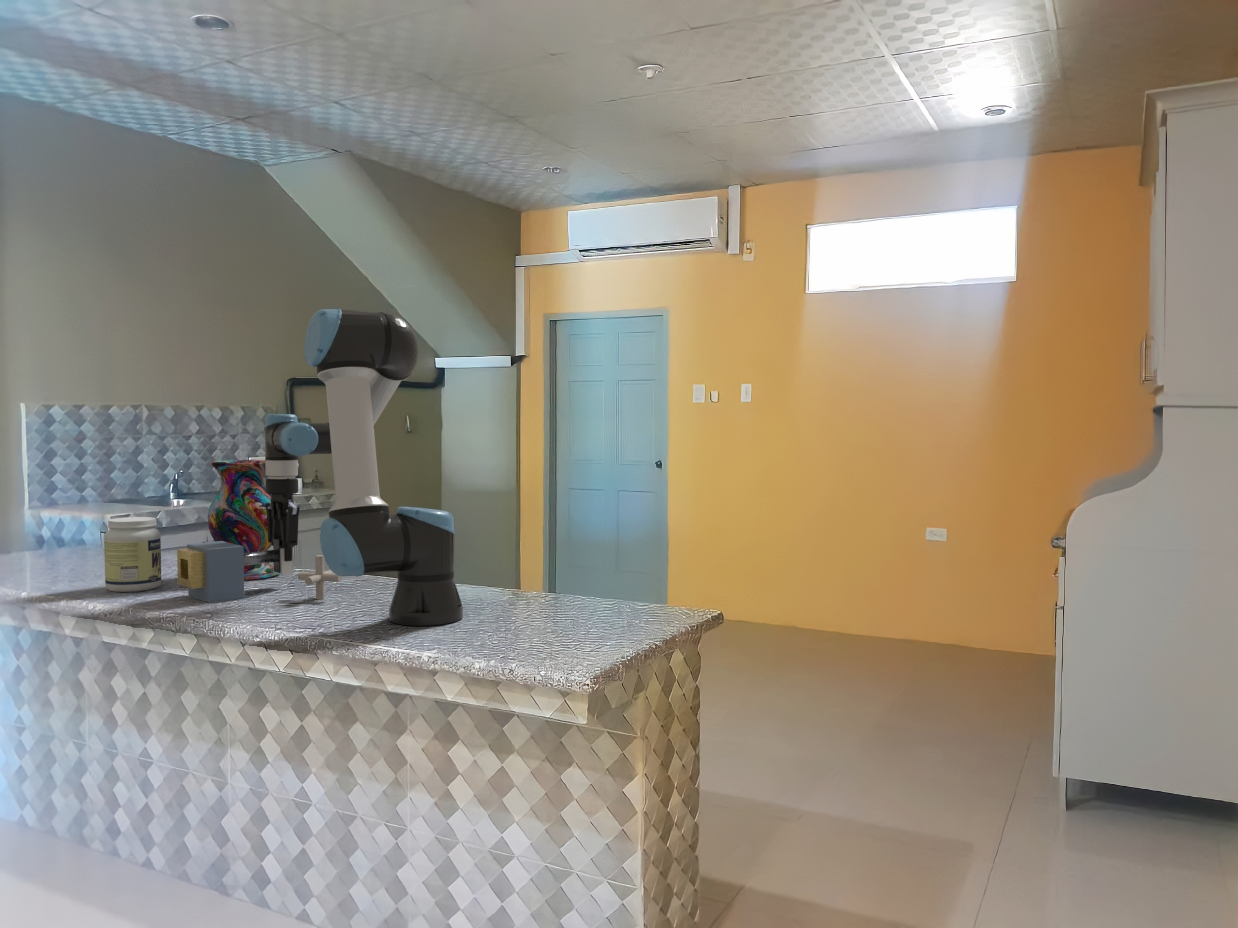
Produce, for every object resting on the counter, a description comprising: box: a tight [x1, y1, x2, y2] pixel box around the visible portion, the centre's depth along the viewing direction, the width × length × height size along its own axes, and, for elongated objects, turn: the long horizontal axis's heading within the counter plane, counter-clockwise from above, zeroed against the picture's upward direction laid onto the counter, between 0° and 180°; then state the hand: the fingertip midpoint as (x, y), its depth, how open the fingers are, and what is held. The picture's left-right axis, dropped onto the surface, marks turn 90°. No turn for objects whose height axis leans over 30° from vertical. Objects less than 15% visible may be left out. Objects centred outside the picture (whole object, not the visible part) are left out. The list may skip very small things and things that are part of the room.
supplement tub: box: [103, 516, 162, 593], centre depth 226 cm, size 12×12×17 cm
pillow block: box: [186, 541, 245, 604], centre depth 216 cm, size 12×8×12 cm, turn 46°
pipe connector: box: [297, 554, 343, 601], centre depth 215 cm, size 10×10×10 cm
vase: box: [207, 459, 281, 581], centre depth 243 cm, size 18×18×30 cm
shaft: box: [244, 538, 282, 574], centre depth 221 cm, size 3×23×8 cm, turn 136°
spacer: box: [176, 548, 205, 589], centre depth 212 cm, size 8×3×8 cm, turn 46°
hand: (282, 573), depth 228 cm, fingers closed on shaft, 3 cm apart
